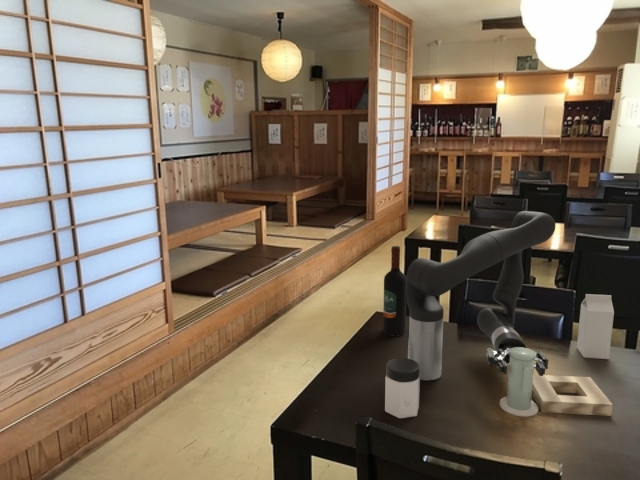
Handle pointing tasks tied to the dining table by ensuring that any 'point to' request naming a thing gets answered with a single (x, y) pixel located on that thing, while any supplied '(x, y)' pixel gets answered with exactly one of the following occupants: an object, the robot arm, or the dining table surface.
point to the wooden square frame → (584, 403)
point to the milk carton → (595, 326)
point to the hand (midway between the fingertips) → (523, 371)
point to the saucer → (522, 413)
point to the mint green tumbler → (520, 378)
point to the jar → (402, 387)
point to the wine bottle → (394, 297)
